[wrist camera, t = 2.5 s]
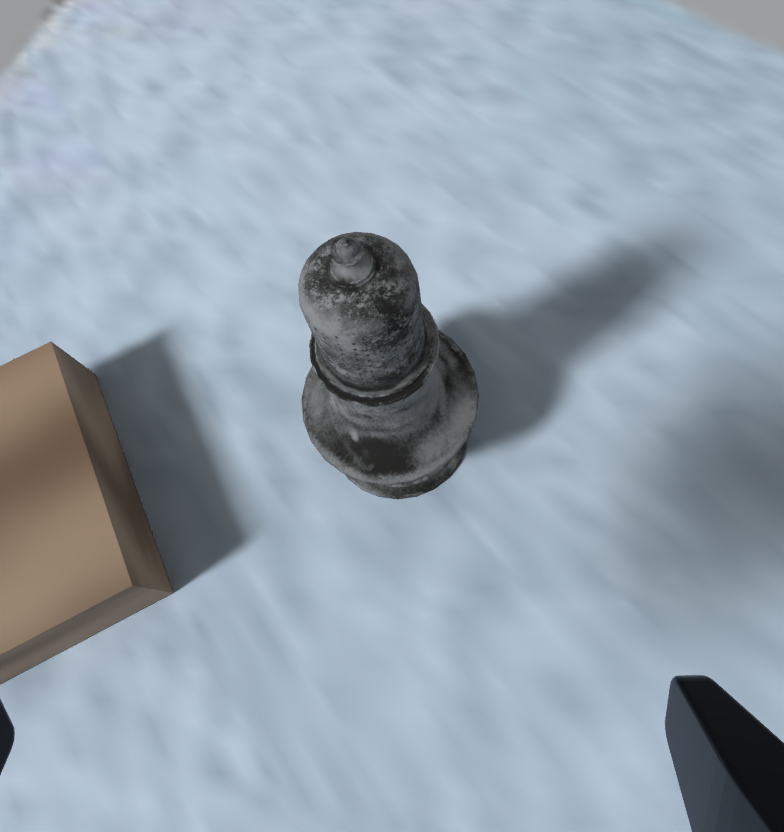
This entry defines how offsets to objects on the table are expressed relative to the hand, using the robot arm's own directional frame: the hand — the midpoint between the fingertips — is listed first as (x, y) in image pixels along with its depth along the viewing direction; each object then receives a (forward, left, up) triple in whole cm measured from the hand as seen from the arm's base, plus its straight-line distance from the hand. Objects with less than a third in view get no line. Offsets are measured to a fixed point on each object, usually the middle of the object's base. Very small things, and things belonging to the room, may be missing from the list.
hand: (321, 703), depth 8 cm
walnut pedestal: (+16, -2, -13) cm, 21 cm away
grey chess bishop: (+2, -8, -14) cm, 16 cm away
